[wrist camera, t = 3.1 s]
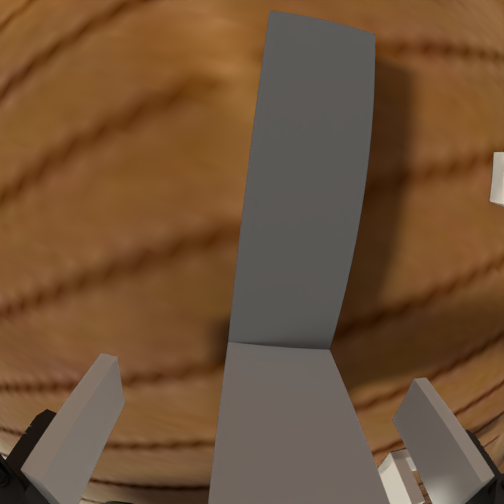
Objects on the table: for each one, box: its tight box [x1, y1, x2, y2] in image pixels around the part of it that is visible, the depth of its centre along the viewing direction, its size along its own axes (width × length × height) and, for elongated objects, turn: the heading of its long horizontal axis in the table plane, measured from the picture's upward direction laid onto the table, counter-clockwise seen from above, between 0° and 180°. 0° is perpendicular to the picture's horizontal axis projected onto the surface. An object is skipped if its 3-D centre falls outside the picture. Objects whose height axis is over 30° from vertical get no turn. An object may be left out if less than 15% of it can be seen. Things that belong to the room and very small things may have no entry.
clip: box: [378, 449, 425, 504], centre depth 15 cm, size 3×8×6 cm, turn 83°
